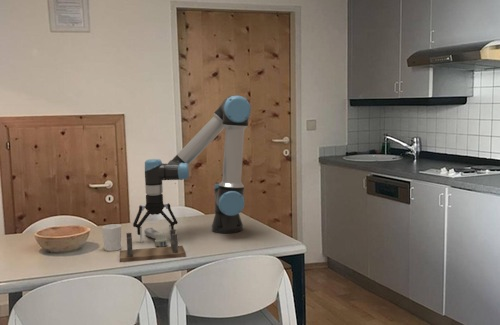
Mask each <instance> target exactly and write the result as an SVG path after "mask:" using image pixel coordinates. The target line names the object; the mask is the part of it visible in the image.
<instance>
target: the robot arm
mask: <svg viewBox="0 0 500 325" xmlns="http://www.w3.org/2000/svg"><path fill="white" fill-rule="evenodd" d="M251 109H252V108H251V104H250V102H249V101H248V99H247V98H245V97H244V96H241V95H230V96H228V97H226V98H225V99H224V100H223V101H222V103H221V104H220V105H219V107H218V108H217V109H216V110H215V111H214V112H213V116H212V117H211V119H210V120H208V122H207V123H206V124H205V125H204V126H202V128H201V129H200V130H199V131H198V132H197V133H196V134H195V135H194V136H193V137H192V138H191V139H190V140H189V142H188V143H187V144H186V145H185V146H184V147H183V148H182V149H181V150H180V151H179V152H178V153H177V154H176V155H175V156H174V157H173V158H172V159H171V160H169V161H168V162H167V163H163V162H162V160H161V159H159V158H152V159H146V160H145V162H144V181H145V183H144V184H145V185H144V186H145V194H146V195H145V205H141V204H140V205H139V206H138V212H137V214H136V216H135V218H134V221H133V222H132V227H133V228H136V229H137V231H136V232H137V235H138V236H139V237H140V239H139V240H140V243H143V228H142V225H143V224H144V223H145V221H146V220H148V217H149V216H150V215H151V216H154V215H160V214H161V216H163V218H164V219H165V221H166V222H168V223H169V224H168V234H169V241H171V236H170V230H175V227H174V226H175V225H177V224H178V220H177V218H176V217H175V215H174V212H173V210H172V208H171V204H170V203H169V202H168V203H167V204H166V203H165V204H164V196H163V190H164V189H163V188H164V187H163V181H179V180H180V181H182V180H188V179H189V178H190V177H189V176H190V169H189V168H190V167H189V166H190V165H191V164H192V162H194V160H195V159H196V158H197V157H198V156H200V154H201V153H202V152H203V151H204V150H205V149H206V148H207V147H208V146H209V145H210V144H211V143H212V142H213V141H214V140H215V139H216V138H217V136H219V134H221V132H222V131H223V130H225V131H224V132H225V133H224V148H223V164H222V180H221V181H220V183H215V184H214V189H213V191H214V217H213V221H212V224H211V230H212V232H214V233H218V234H234V233H239V232H242V231H243V230H244V224H243V221H242V219H241V216H240V214H241V212H242V211H243V210H244V208H245V202H246V201H245V198H244V194H245V193H244V192H245V185H244V184H243V182H242V175H243V171H242V170H243V157H244V156H243V155H244V143H245V142H244V141H245V131H246V129H247V128H248V127H249V119H250V115H251V112H252V110H251ZM164 208H165V209H166V210H168V213H169V214H170V216H171V218H172V220H173V221H172V220H171V219H170V217H169V216H168V215H167V214H166V213H165V212H164ZM144 210H146V212H145V214H144V215H143V216H142V218H141V214H142V212H143V211H144ZM140 218H141V220H140V221H139V219H140Z"/></svg>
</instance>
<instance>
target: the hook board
mask: <svg viewBox="0 0 500 325" xmlns="http://www.w3.org/2000/svg"><path fill="white" fill-rule="evenodd" d="M132 235H133V234H132V232H126V249H123V250H121V249H119V263H126V262H128V263H129V262H138V261H151V260H160V259H173V258H183V257H187V253H186V250H185V248H184V246H183V245H178V233H176V229H174V230H170V236H171V240H170V246H163V247H159V246H158V247H148V248H147V247H146V248H136V249H133V237H132Z"/></svg>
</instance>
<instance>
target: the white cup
mask: <svg viewBox="0 0 500 325" xmlns="http://www.w3.org/2000/svg"><path fill="white" fill-rule="evenodd" d="M101 231H102V239H103V246H104V247H103V248H104V251H106V252H115V251H120V250H121V248H122V225H121V224H119V223H118V224H117V223H116V224H114V223H113V224H106V225H103V226H102V230H101Z"/></svg>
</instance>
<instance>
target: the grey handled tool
mask: <svg viewBox="0 0 500 325" xmlns="http://www.w3.org/2000/svg"><path fill="white" fill-rule="evenodd" d="M144 235H145V236H146V237H148V238H151V239H154V243H155V248H157V247H167V246H168V238H166V234H165V231H162V232H160V231H159V230H158V231H157V230H155V229H154V228H153V227H147V228H145V229H144Z"/></svg>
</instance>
